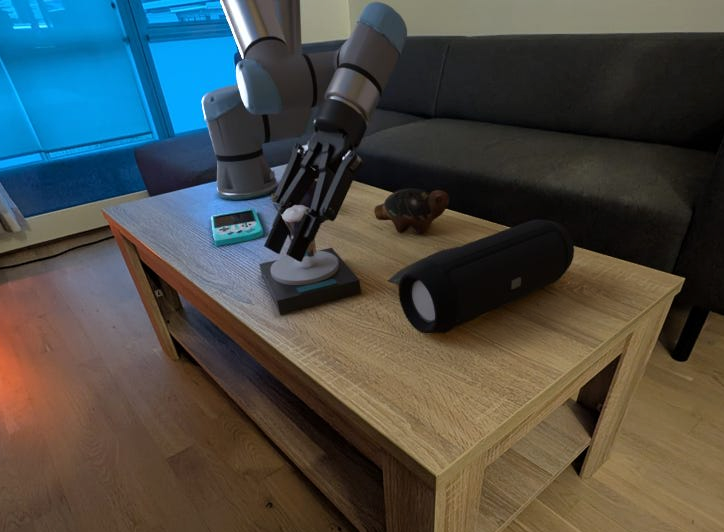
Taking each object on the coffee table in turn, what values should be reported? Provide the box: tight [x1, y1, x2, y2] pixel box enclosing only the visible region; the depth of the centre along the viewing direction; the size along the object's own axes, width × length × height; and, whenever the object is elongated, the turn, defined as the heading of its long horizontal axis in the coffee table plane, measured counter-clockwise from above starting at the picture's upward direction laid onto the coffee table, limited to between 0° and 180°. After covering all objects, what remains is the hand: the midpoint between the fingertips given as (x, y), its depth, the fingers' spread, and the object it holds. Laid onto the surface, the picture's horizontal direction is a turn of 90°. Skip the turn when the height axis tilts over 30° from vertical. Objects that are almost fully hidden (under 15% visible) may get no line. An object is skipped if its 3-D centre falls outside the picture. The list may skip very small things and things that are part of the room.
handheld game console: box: [210, 208, 264, 247], centre depth 96 cm, size 10×16×1 cm, turn 20°
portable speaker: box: [398, 218, 575, 335], centre depth 62 cm, size 26×10×10 cm, turn 124°
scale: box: [258, 247, 362, 316], centre depth 73 cm, size 14×13×3 cm
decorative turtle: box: [373, 188, 450, 236], centre depth 88 cm, size 10×15×8 cm, turn 76°
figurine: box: [270, 179, 318, 209], centre depth 102 cm, size 10×6×15 cm
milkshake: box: [273, 203, 317, 268], centre depth 69 cm, size 4×5×10 cm
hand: (282, 253), depth 68 cm, fingers closed on milkshake, 5 cm apart
